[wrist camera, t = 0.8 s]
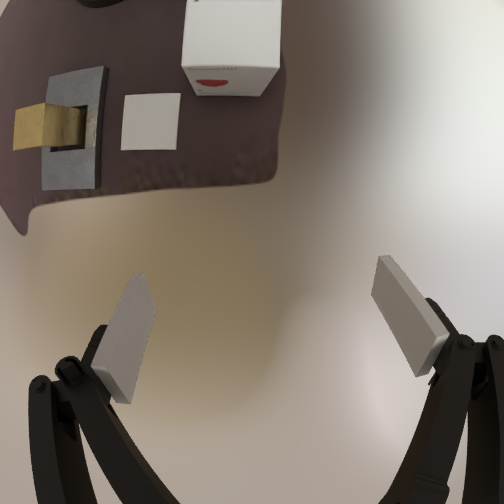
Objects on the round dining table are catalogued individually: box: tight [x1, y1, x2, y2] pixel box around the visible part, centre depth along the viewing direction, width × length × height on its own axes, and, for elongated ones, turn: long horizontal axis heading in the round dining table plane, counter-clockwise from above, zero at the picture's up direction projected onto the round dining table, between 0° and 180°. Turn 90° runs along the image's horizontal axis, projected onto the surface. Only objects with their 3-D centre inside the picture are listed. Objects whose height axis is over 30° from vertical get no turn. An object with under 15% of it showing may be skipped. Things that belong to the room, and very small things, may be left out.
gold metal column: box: [13, 103, 87, 150], centre depth 28 cm, size 5×5×12 cm
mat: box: [121, 93, 181, 150], centre depth 35 cm, size 8×8×1 cm
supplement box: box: [181, 0, 282, 96], centre depth 26 cm, size 9×9×15 cm
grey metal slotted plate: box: [42, 66, 109, 191], centre depth 33 cm, size 18×10×2 cm, turn 175°
